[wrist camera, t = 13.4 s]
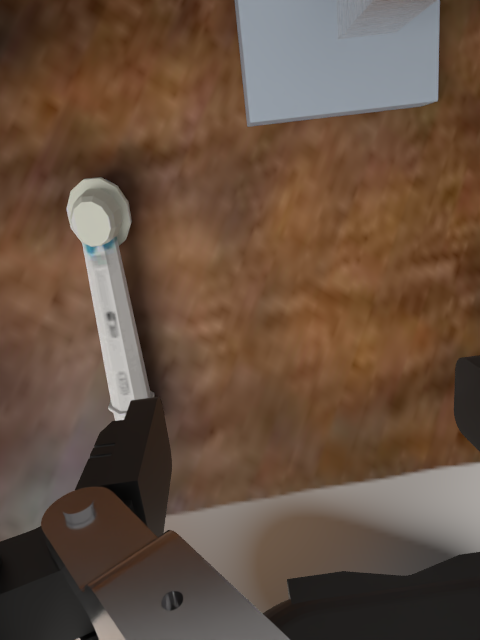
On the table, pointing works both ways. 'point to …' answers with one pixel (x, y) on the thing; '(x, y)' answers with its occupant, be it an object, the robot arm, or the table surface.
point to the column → (376, 16)
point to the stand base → (330, 62)
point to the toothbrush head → (110, 287)
